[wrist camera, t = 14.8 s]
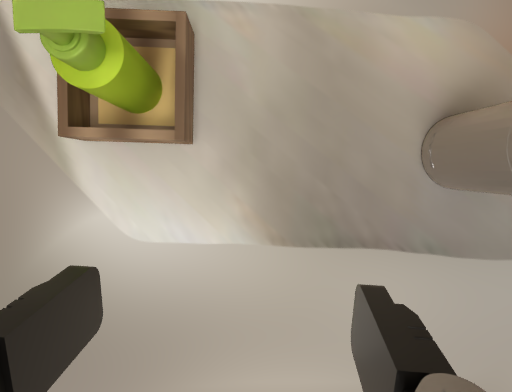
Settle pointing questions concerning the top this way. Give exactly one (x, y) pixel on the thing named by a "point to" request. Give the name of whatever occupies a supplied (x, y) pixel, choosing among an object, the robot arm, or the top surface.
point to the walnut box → (167, 67)
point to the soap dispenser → (90, 51)
